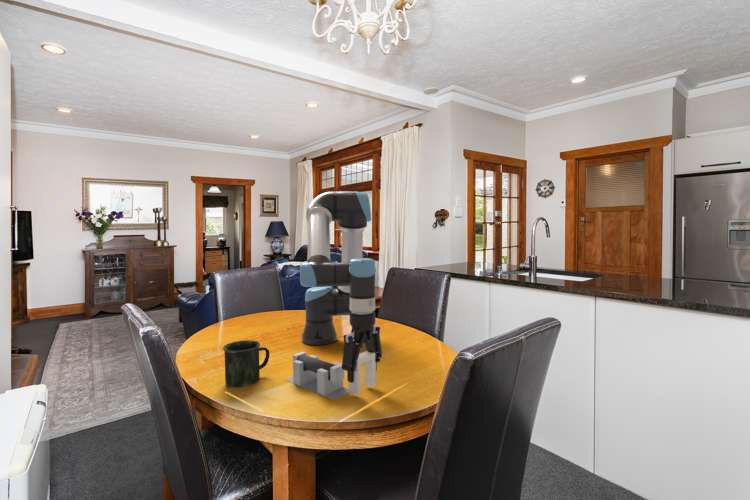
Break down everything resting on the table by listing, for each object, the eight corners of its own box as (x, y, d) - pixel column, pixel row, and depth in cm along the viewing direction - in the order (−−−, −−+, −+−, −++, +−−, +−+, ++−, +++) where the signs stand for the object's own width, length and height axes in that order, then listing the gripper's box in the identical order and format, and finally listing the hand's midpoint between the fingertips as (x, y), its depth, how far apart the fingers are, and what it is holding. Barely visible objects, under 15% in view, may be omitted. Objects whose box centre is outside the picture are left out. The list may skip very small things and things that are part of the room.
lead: (292, 367, 124) (292, 354, 124) (302, 363, 127) (302, 351, 127) (334, 382, 112) (334, 368, 112) (344, 378, 115) (344, 364, 115)
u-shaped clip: (349, 392, 113) (349, 357, 112) (367, 383, 119) (367, 350, 118) (357, 395, 111) (357, 360, 110) (375, 386, 117) (375, 352, 116)
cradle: (285, 381, 124) (284, 358, 123) (304, 374, 130) (304, 352, 129) (333, 402, 110) (333, 375, 109) (352, 392, 116) (352, 367, 115)
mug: (219, 381, 124) (218, 344, 123) (262, 370, 133) (261, 336, 132) (231, 393, 116) (230, 353, 115) (276, 380, 125) (275, 343, 124)
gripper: (347, 320, 103) (347, 403, 104) (393, 307, 119) (393, 379, 120) (327, 316, 107) (328, 395, 109) (374, 303, 124) (375, 373, 125)
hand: (362, 387), depth 115 cm, fingers closed on u-shaped clip, 8 cm apart
